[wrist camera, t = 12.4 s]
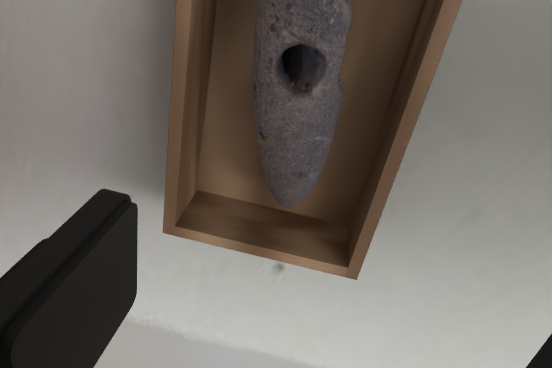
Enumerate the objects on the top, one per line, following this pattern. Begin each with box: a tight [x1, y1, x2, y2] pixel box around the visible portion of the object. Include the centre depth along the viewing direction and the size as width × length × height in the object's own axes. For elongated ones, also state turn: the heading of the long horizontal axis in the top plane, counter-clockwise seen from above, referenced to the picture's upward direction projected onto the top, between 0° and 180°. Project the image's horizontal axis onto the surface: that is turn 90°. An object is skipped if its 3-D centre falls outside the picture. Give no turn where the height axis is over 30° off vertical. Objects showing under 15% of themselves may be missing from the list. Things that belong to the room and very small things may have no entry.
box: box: [163, 0, 462, 280], centre depth 26 cm, size 14×22×6 cm, turn 169°
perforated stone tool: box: [253, 0, 353, 209], centre depth 25 cm, size 15×5×7 cm, turn 176°
